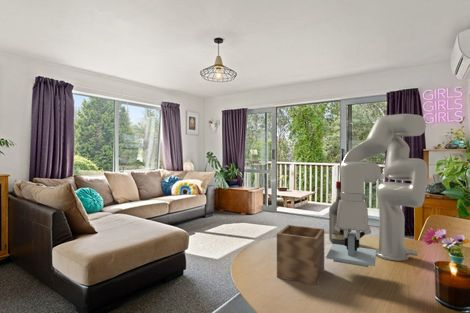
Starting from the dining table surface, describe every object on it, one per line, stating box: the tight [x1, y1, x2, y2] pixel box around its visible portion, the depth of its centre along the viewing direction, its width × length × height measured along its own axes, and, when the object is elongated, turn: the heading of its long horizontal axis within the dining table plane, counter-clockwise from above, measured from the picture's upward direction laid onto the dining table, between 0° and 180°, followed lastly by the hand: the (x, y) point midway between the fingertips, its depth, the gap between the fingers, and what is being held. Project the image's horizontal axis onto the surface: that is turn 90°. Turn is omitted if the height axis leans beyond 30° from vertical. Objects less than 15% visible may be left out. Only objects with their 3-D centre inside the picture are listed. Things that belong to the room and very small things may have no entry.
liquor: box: [328, 180, 352, 245], centre depth 140 cm, size 9×9×30 cm
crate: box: [276, 224, 325, 286], centre depth 105 cm, size 14×14×16 cm
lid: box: [325, 231, 377, 268], centre depth 101 cm, size 15×15×9 cm
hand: (352, 248), depth 101 cm, fingers closed on lid
